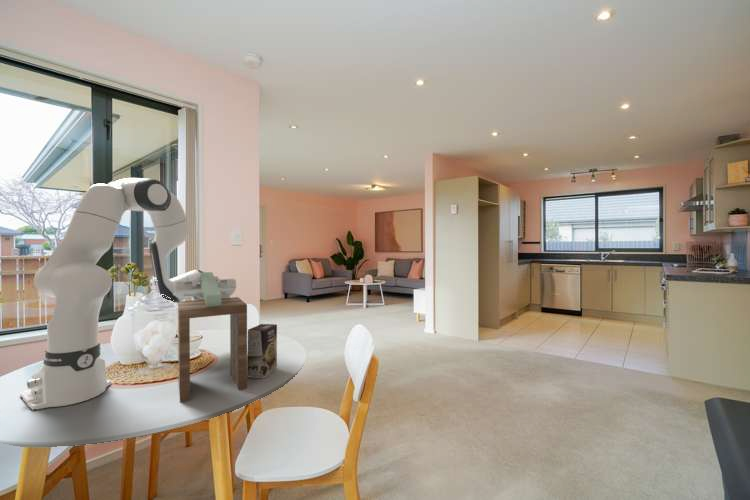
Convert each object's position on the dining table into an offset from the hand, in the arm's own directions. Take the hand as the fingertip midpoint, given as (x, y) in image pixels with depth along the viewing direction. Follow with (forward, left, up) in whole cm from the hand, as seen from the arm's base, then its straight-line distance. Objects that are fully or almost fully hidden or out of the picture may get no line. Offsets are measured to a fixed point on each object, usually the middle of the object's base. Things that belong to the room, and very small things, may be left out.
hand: (207, 278), depth 118 cm
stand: (+11, -8, -32) cm, 35 cm away
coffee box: (+19, +6, -33) cm, 38 cm away
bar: (+6, -4, -4) cm, 8 cm away
